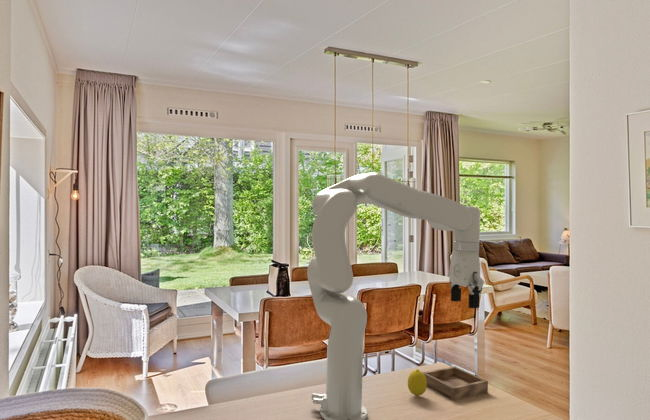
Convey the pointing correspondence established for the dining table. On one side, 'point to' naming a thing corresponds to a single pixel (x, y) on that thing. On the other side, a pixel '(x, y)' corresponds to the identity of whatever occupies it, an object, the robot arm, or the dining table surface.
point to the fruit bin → (455, 383)
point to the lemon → (417, 383)
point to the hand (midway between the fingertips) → (464, 304)
